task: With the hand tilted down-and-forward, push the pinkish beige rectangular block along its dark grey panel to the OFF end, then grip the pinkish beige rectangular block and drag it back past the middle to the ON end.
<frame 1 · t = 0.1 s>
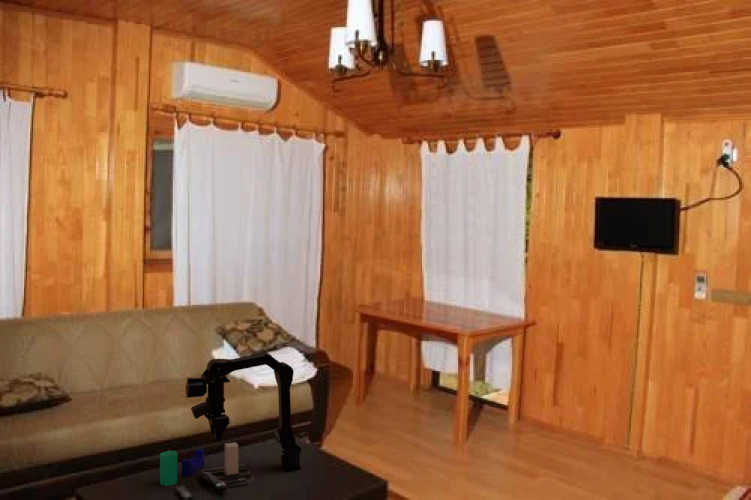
hand: (215, 438, 241), 15 cm above the table, tool pointing down, fingers open, 9 cm apart
candle: (168, 483, 237), on the table
panel: (231, 479, 242), on the table
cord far: (226, 471, 249), on the table
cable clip: (191, 471, 249), on the table
cord near: (238, 486, 235), on the table
pinkish beige rectangular block: (231, 459, 241), point 7 cm above the table, slide at 0.0 cm
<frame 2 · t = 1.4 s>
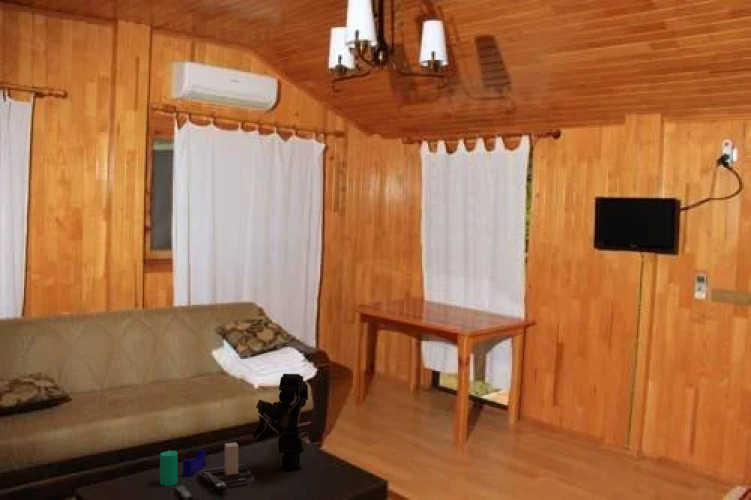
hand: (255, 438, 245), 14 cm above the table, tool tilted 45°, fingers open, 5 cm apart
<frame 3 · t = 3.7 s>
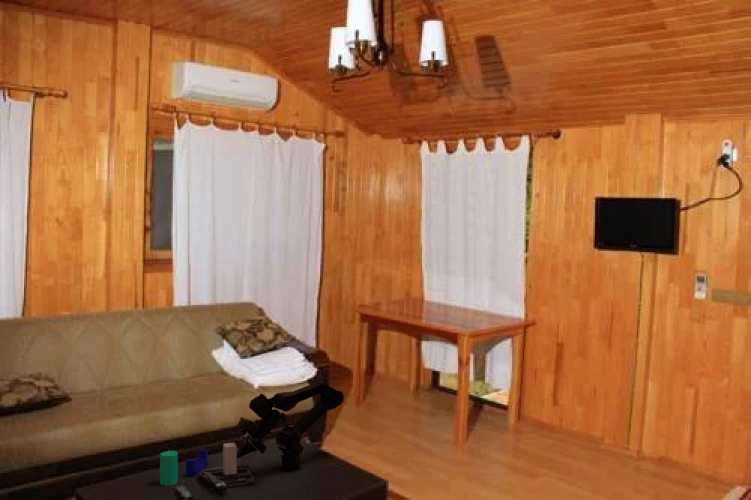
hand: (236, 457, 242), 8 cm above the table, tool tilted 45°, fingers closed, pressing on pinkish beige rectangular block
pinkish beige rectangular block: (229, 460, 241), point 7 cm above the table, slide at 0.6 cm, touching gripper
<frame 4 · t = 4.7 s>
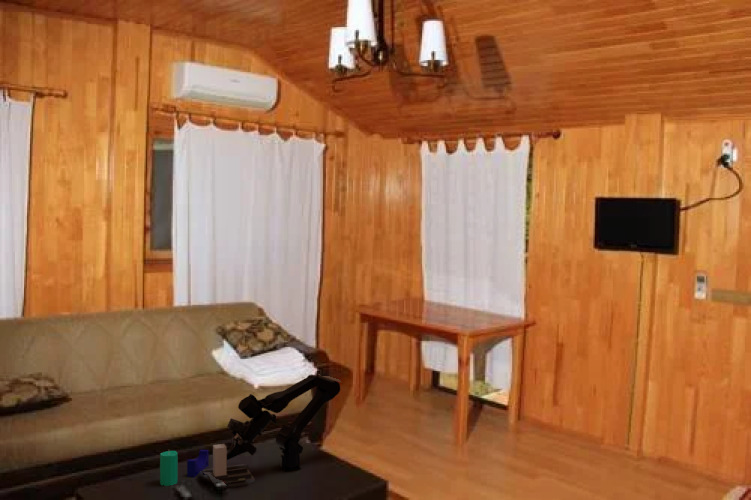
hand: (226, 458, 240), 8 cm above the table, tool tilted 45°, fingers closed, pressing on pinkish beige rectangular block
pinkish beige rectangular block: (219, 461, 240), point 7 cm above the table, slide at 4.2 cm, touching gripper
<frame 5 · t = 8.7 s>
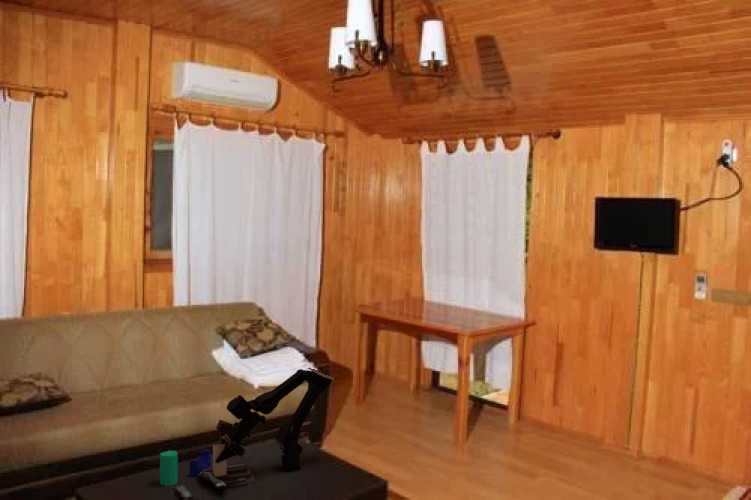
hand: (214, 460, 239), 8 cm above the table, tool tilted 45°, fingers closed on pinkish beige rectangular block, 4 cm apart
pinkish beige rectangular block: (219, 461, 240), point 7 cm above the table, slide at 4.2 cm, touching gripper
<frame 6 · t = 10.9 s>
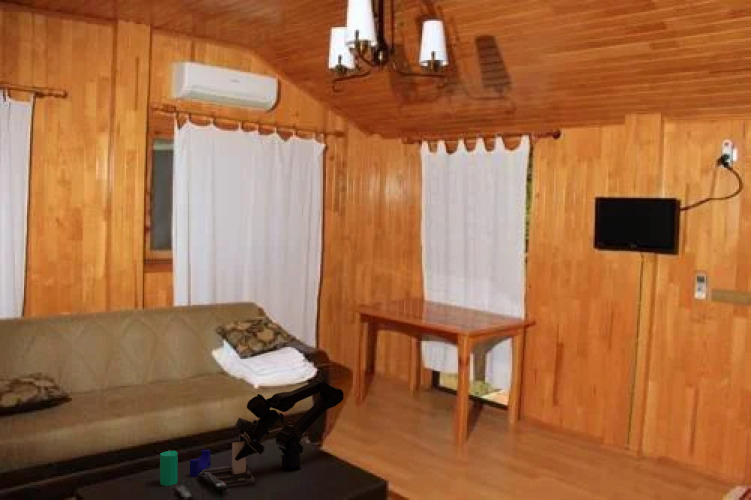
hand: (234, 457, 242), 8 cm above the table, tool tilted 45°, fingers closed on pinkish beige rectangular block, 4 cm apart
pinkish beige rectangular block: (239, 458, 242), point 7 cm above the table, slide at -2.7 cm, touching gripper
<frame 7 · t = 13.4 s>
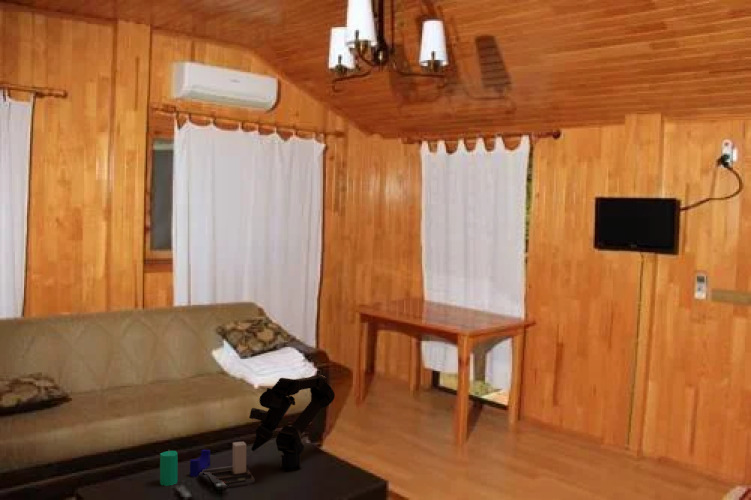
hand: (253, 447, 247), 10 cm above the table, tool tilted 35°, fingers open, 9 cm apart
pinkish beige rectangular block: (239, 458, 242), point 7 cm above the table, slide at -2.9 cm
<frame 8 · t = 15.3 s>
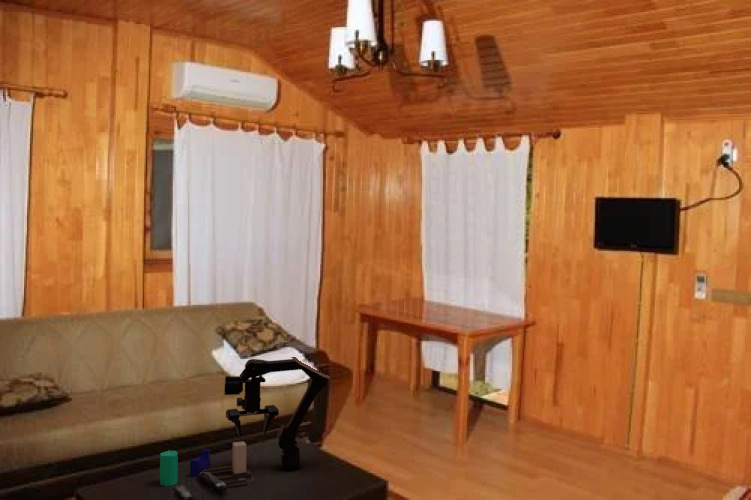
hand: (252, 435, 250), 13 cm above the table, tool pointing down, fingers open, 9 cm apart
at the end: pinkish beige rectangular block slide at -2.9 cm; the gripper is holding nothing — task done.
